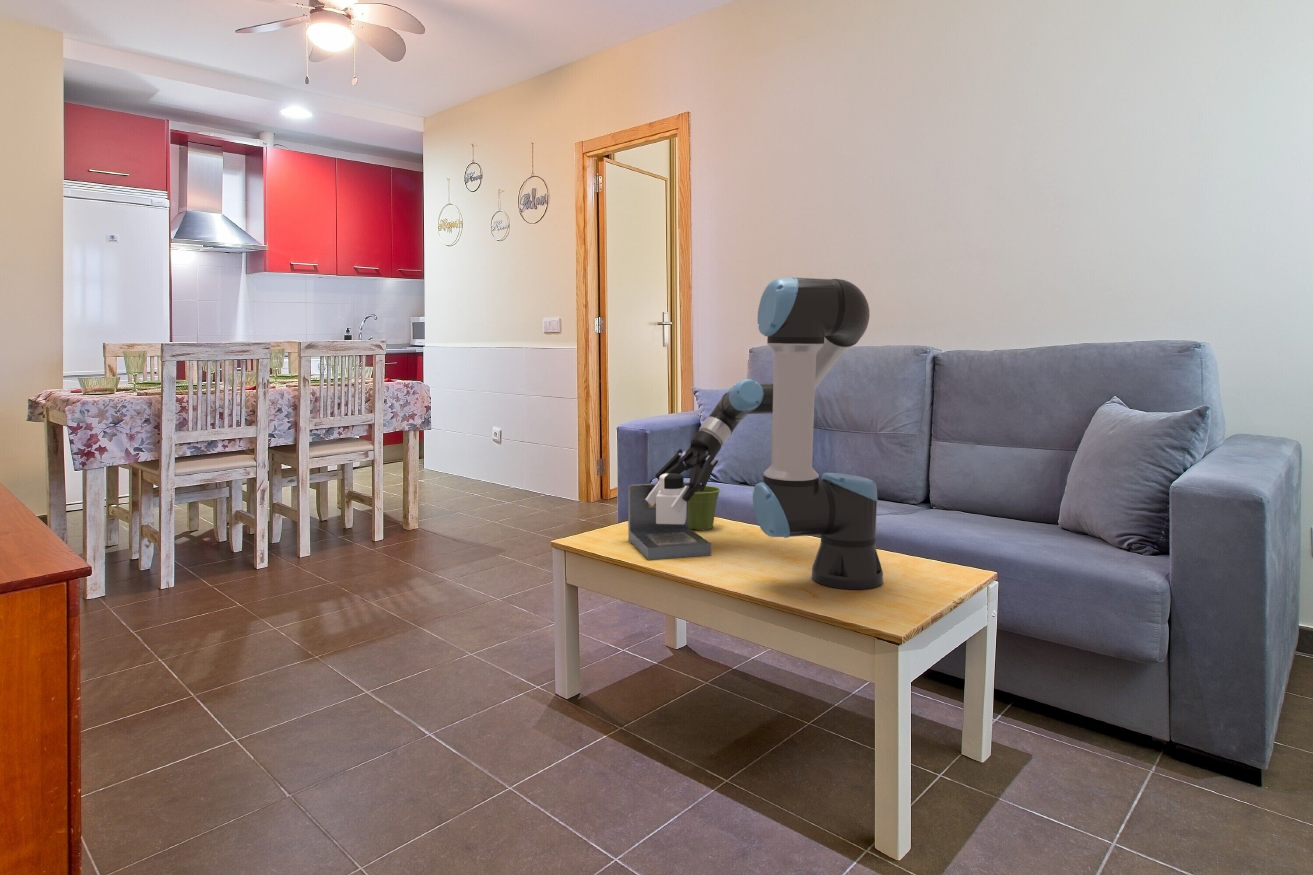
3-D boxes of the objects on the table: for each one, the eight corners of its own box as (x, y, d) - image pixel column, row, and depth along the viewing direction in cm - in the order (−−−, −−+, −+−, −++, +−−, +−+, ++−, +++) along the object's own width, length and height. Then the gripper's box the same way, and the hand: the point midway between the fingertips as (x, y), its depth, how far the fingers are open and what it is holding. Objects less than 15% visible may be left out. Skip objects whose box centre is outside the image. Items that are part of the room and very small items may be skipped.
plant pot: (701, 521, 227) (701, 483, 225) (729, 528, 217) (729, 489, 216) (670, 526, 219) (670, 488, 218) (697, 534, 210) (697, 494, 209)
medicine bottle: (686, 518, 196) (686, 471, 195) (684, 524, 189) (684, 476, 188) (658, 517, 197) (658, 471, 195) (655, 524, 190) (655, 476, 188)
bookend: (710, 555, 189) (711, 495, 187) (648, 560, 184) (647, 498, 183) (685, 536, 208) (686, 481, 206) (628, 540, 204) (628, 484, 202)
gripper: (747, 452, 191) (698, 523, 184) (690, 443, 209) (643, 508, 201) (732, 433, 187) (681, 504, 180) (675, 425, 205) (626, 490, 198)
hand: (661, 506), depth 191 cm, fingers closed on medicine bottle, 10 cm apart
